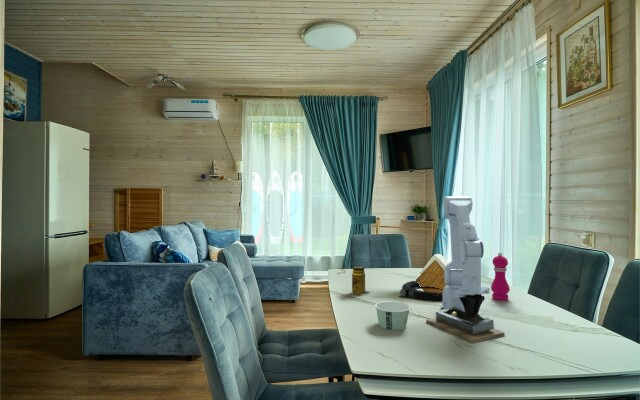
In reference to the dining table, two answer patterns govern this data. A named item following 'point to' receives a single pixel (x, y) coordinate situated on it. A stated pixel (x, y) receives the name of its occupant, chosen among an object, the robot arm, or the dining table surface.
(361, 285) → the condiment
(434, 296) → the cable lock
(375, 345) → the dining table surface
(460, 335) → the board
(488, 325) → the grey shallow tray
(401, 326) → the food container
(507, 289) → the pepper mill
